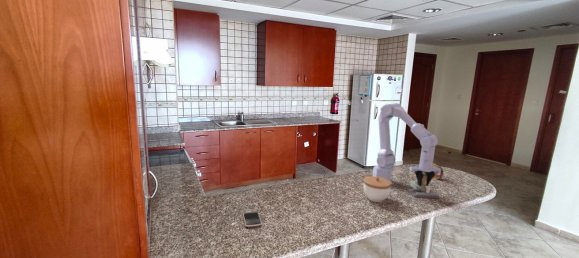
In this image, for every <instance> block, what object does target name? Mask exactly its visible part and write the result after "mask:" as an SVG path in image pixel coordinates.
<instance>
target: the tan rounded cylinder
mask: <svg viewBox="0 0 579 258" xmlns="http://www.w3.org/2000/svg"><path fill="white" fill-rule="evenodd" d="M426 183H427V175H424V176H423V178H422V183H421V186H419V191H421V192H425V189H426Z"/></svg>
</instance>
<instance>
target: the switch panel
mask: <svg viewBox="0 0 579 258" xmlns="http://www.w3.org/2000/svg"><path fill="white" fill-rule="evenodd" d="M407 192H408V193H409V194H410V195H412V196H413V197H414V198H430V199H431V198H432V199H433V198H435V199H437V198H438V199H439V195H438V194H437V192H434V190H432V188H430V193H424V192H421V191H419V189H414V188H407Z"/></svg>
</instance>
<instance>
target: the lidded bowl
mask: <svg viewBox="0 0 579 258" xmlns="http://www.w3.org/2000/svg"><path fill="white" fill-rule="evenodd" d="M391 182H392V181H391ZM391 182H390V181H389V180H387V179H385V178H382V177H376V176H373V175H371V176H366V177H364V178H363V192H364V194H365V196H366V197H367V199H368V200H370V201H371V202H375V203H381V202H384V200H386V199H387V198H388V197H389V195H390V193H391V189H392V184H391Z"/></svg>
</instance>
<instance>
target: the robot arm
mask: <svg viewBox="0 0 579 258" xmlns="http://www.w3.org/2000/svg"><path fill="white" fill-rule="evenodd" d="M394 117H395V118H399V119H400V120H401V121H403V122H404V123H405V124H406V125H408V127H409V128H410V132H411V133H412V134H413V135H414V136H415V137H416V139H418V140H419V143H420V146H421V152H420V157H419V165H418V166H417V165H415V166H409V172H414V174H415V177H416V181H417V183H418V185H419V186H421V183H422V178H423V176H424V174H423V173H422V172H425V175H427V183H426V186H428V187H429V184H430V183H431V181H432V180H433V179H434V178H433V177H434V176H435V173H434V172H438V173H440V172H441V169H440V168H437V167H432V165H433V164H434V158H435V157H434V156H435V150H436V146H437V145H438V143H439V138H438V137H437V135H435V134H432V132H431V131H429V130H427V128H425V125H424V124H423V123H422V124H421V123H418V122H416V121H415V120H414V119H413V118H412V117H411V115H410V114H408V112H407V111H406V110H405V109H404V107H403V106H402V105H401V104H400V103H398V102H395V103H384V104H383V105H382V106H381V108H380V113H379V115H378V131H379V147H380V148H379V149H380V150H379V151H378V152H377V157H376V164H377V165H374V166H373V169H372V176H376V177H382V178H385V179H387V180H389V181H390V182H391V185H392V184H394V182H392V180H391V179H392V172H393V171H392V170H393V165H394V164H395V163H396V156H395V155H394V151H393V150H392V146H391V145H392V144H391V130H390V122H391V120H392V119H393V118H394Z"/></svg>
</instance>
